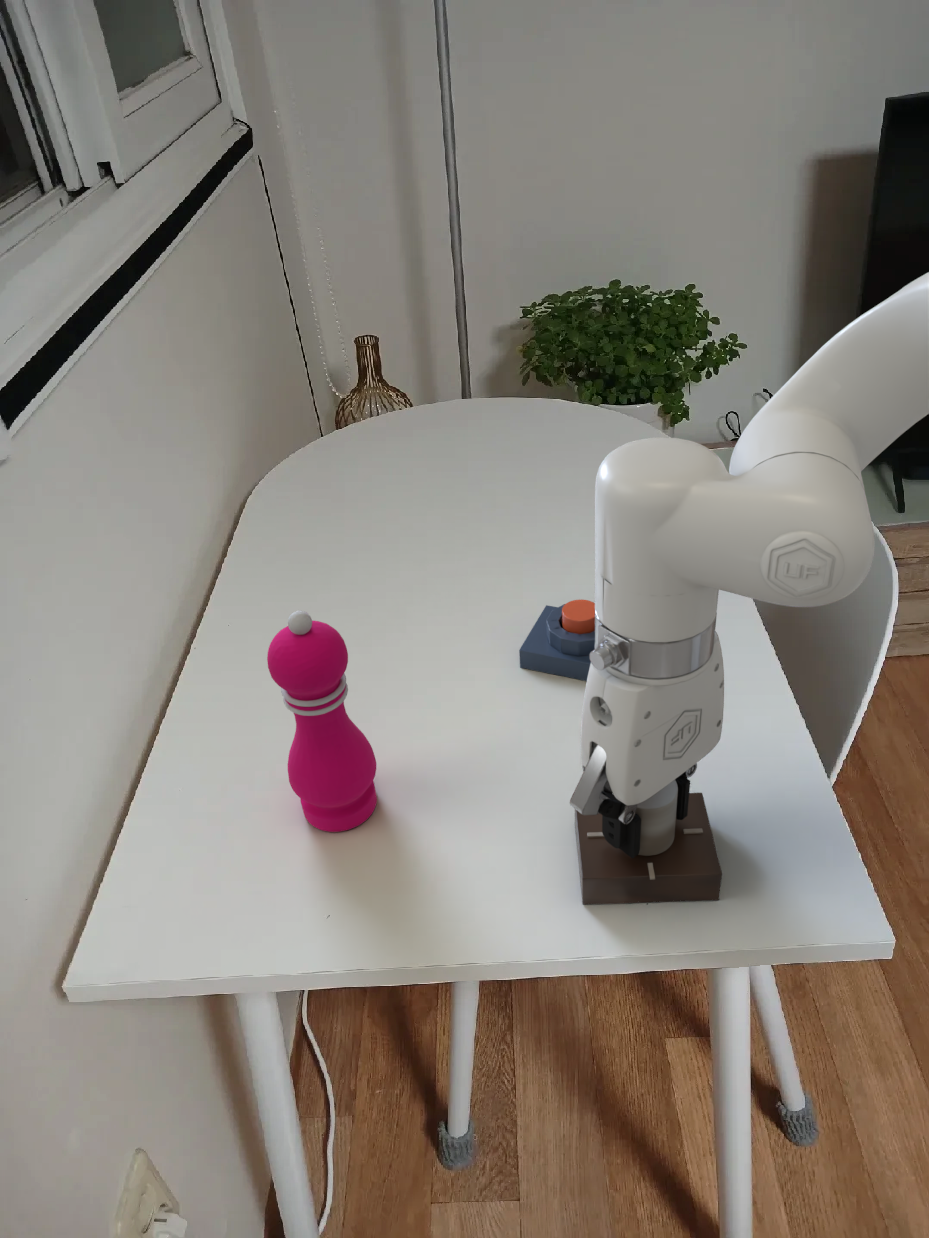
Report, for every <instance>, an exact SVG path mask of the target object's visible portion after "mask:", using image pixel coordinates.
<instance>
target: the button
mask: <svg viewBox="0 0 929 1238" xmlns="http://www.w3.org/2000/svg"><path fill="white" fill-rule="evenodd" d="M564 604H565V605H564ZM564 604H563V605H564V606H563V608H562V626H563V628H564V629H565V630H566V631H567V632H570V633H576V634H586V633H591V632H593V631H595V601H592V600H588V599H573V600H570V601H568V602H566V603H564Z"/></svg>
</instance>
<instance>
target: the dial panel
mask: <svg viewBox="0 0 929 1238" xmlns="http://www.w3.org/2000/svg"><path fill="white" fill-rule="evenodd" d="M706 807H707V806H706V803H705V799H704V796H703V792H689V803H688V815H687V816H686V817H685V818H684V819H683V820H677V819H676V823H675V837H674V841H673V843H672V845H671V846H670V847H669V848H668V849H667V850H666V851H664V852H662V853H660V854H657V855H652V856H642V855H637V856H635V857H634V858H631V857H630V856H628V855H627V854H626V853H624V852H623V851H622V850H621V849H619V848H618V849H617V848H615V847H613V846H612V845H610V844H609V843H608V842H607V841H606V839H605V837H604V835H603V833H602V815H601V814H597V815H582V814H581V813H580V812H578V811H577V810H576V809H575V808H573V810H574V831H575V832H574V833H575V841H576V851H577V860H578V861H577V862H578V871H579V881H580V882H579V883H580V893H581V903H582V905H587V906H588V905H613V904H614V905H615V904H645V903H646V904H648V903H675V902H677V903H678V902H680V903H681V902H704V901H705V902H710V901H720V895H721V886H722V878H723V871H722V867H721V863H720V860H719V855H718V851H717V847H716V843H715V839H714V834H713V832H712V827H711V823H710V818H709V815H708V811H707V808H706Z"/></svg>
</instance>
